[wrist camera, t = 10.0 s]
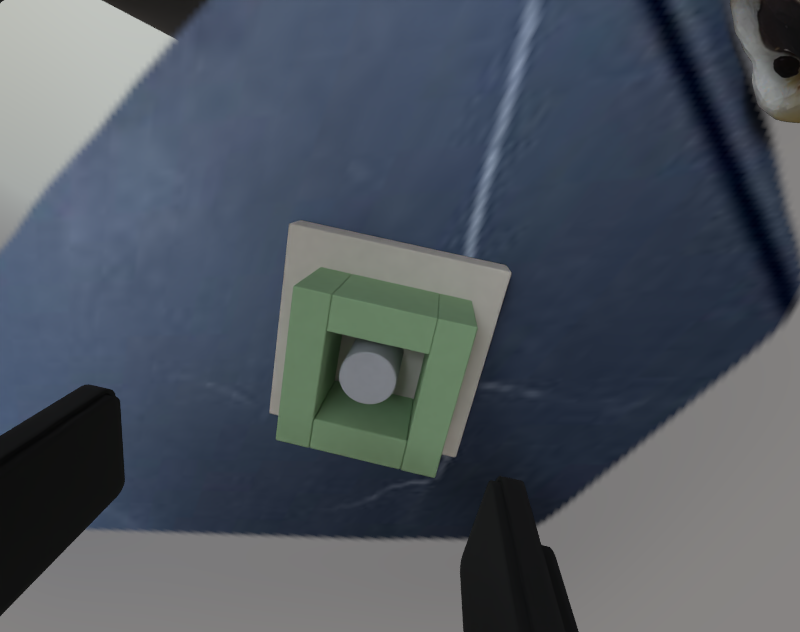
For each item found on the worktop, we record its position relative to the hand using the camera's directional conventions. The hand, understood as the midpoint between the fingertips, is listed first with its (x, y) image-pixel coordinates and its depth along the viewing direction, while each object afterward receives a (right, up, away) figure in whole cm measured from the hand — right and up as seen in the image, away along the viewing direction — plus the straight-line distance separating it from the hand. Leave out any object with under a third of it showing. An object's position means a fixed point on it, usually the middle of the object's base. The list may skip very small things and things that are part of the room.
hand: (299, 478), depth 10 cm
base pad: (+2, +3, +11) cm, 11 cm away
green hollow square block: (+2, +2, +9) cm, 10 cm away
